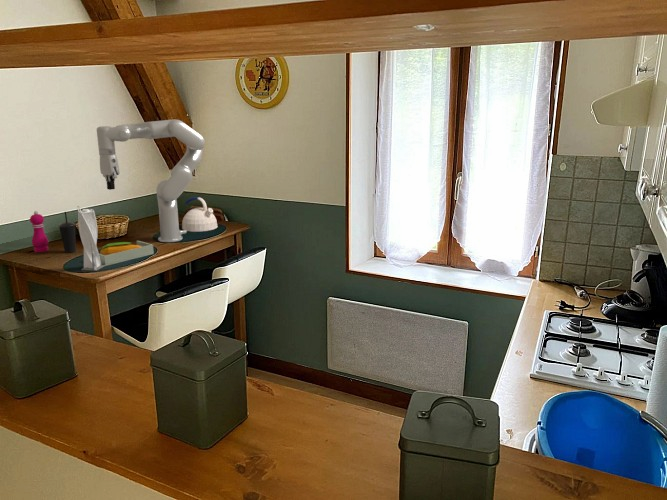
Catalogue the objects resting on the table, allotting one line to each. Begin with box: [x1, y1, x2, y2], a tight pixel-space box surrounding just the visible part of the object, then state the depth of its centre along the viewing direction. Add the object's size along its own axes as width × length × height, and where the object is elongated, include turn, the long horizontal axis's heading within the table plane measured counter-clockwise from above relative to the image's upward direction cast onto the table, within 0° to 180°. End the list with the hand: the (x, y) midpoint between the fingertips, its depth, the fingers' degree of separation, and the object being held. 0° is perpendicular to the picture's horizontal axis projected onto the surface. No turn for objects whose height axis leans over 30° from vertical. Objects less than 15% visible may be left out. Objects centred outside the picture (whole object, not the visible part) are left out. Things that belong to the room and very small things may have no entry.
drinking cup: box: [57, 211, 77, 254], centre depth 272 cm, size 8×8×20 cm
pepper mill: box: [29, 210, 49, 253], centre depth 274 cm, size 7×7×20 cm
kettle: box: [181, 196, 218, 233], centre depth 323 cm, size 20×21×18 cm
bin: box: [99, 240, 155, 267], centre depth 265 cm, size 25×13×5 cm, turn 142°
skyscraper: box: [76, 205, 106, 272], centre depth 246 cm, size 8×8×28 cm
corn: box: [99, 241, 142, 255], centre depth 266 cm, size 7×8×20 cm
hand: (111, 189), depth 279 cm, fingers closed
